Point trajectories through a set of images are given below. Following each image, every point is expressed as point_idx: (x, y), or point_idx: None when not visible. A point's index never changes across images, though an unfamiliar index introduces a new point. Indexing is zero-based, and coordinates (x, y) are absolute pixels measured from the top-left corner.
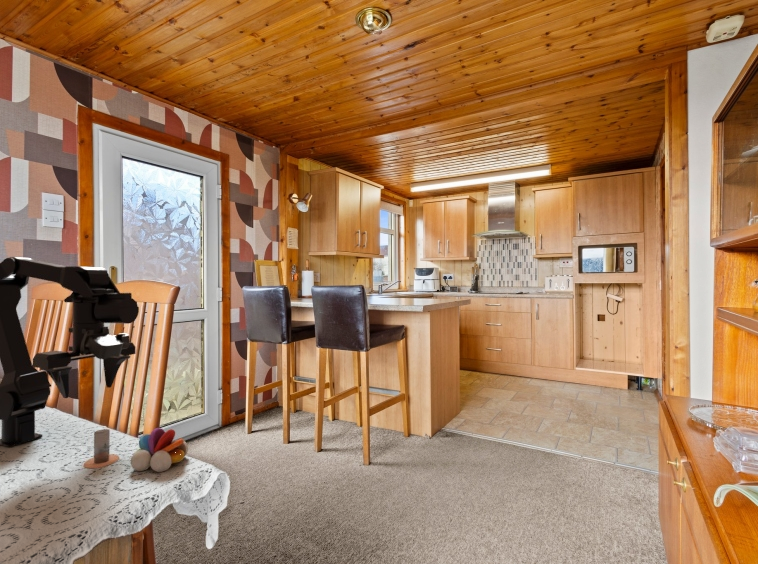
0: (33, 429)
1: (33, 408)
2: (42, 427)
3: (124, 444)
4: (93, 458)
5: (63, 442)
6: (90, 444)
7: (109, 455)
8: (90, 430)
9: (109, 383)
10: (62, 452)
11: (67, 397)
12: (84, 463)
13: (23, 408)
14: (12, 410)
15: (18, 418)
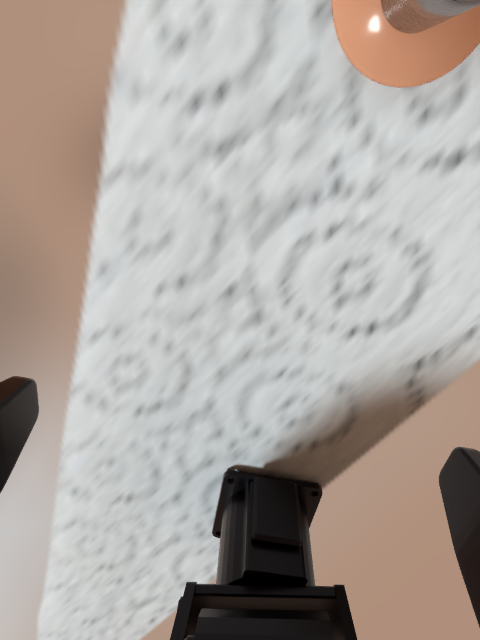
0: (260, 503)
1: (228, 599)
2: (157, 530)
3: (193, 75)
4: (390, 75)
5: (244, 375)
6: (236, 256)
7: (345, 13)
8: (117, 381)
9: (10, 410)
10: (331, 295)
11: (468, 448)
12: (453, 65)
13: (300, 610)
14: (343, 620)
15: (305, 573)
